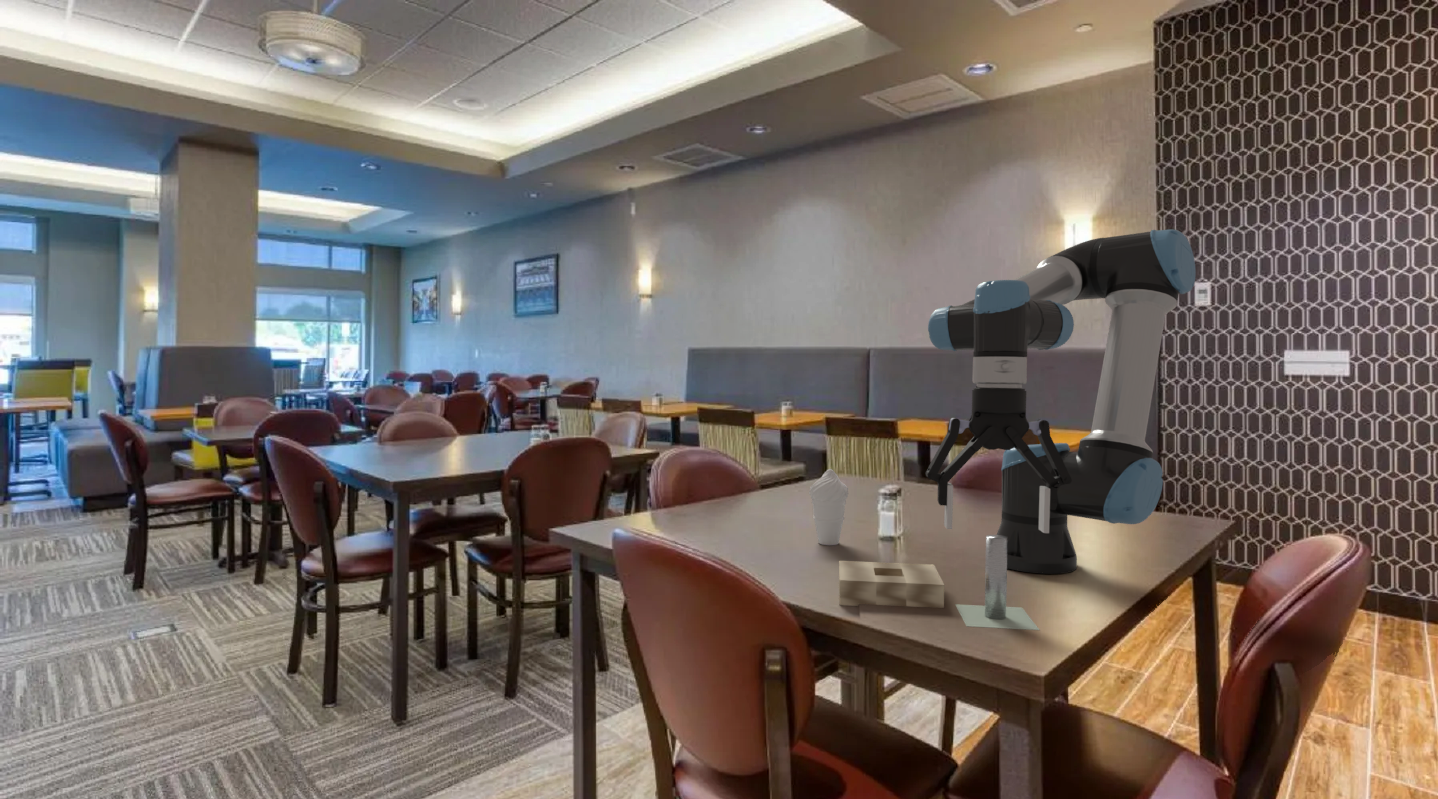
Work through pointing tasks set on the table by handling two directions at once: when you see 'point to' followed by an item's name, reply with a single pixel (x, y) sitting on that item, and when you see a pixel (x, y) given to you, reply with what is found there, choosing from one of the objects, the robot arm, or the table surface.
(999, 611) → the peg
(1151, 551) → the table surface
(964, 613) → the mat
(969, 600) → the table surface
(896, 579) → the block
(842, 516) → the soft serve ice cream cone
